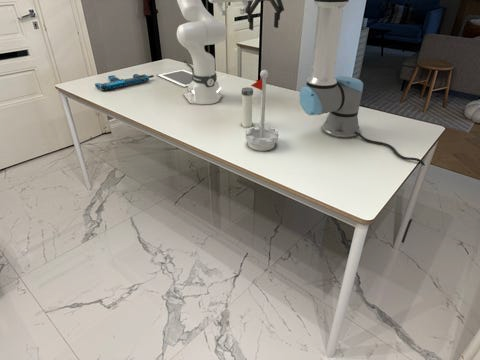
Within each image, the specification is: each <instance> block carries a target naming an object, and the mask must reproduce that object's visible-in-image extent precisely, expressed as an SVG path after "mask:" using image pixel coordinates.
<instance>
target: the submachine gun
mask: <svg viewBox="0 0 480 360" xmlns="http://www.w3.org/2000/svg"><path fill="white" fill-rule="evenodd" d="M107 77H108V80H109V82H103V83H100V82H96V83H94V86H95V88H97V89H98V90H100V91H107V90H113V91H114V90H115V89H116V88H120V87H125V86H129V85H134V84H138V83H139V84H140V83H145V82H146V83H147V81H148V80H150V79H151V78H154V77H155V76H154V74H151V75H147V74H138V73H134V74H133V75H132V77H129V78H121V79H120V78H118V77H117V76H116V75H113V74H112V75H108V76H107Z"/></svg>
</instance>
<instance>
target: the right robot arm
mask: <svg viewBox="0 0 480 360" xmlns="http://www.w3.org/2000/svg"><path fill="white" fill-rule="evenodd" d="M265 1H267V2H268V1H269V2H270V4H271V6H272V7H273V9H274V10H275V11H276V12H274V15H273V16H274V18H273V28H275V29H278V28H279V21H280V20H281V14H282V12H284V11H285V8H284V3H283V1H282V0H253V1H248V5H247V7H246V9H245V14H247V22H248V29H249V30H250V31H254V14H253V13H254V12H255V10H256V9H257V7H258V6H259V4H260V3H261V2H265ZM313 2H314V3H315V5H316V7H317V13H316V23H315V24H316V25H315V32H314V42H313V43H314V45H313V52H312V53H313V54H312V64H311V73H310V74H311V75H310V76H309V77H307V78H306V84H305V86H303V87H302V88H301V89H300V90H299V94H298V99H299V104H300V106H301V108H302V110H303V112H304V113H305V114H307V115H308V116H321V115H324V114H328V115H327V117H326V118H325V117H323V121H324V123H323V126H322V130H323V132H324V133H325V134H326V135H329V136H332V137H335V138H339V139H341V138H342V139H349V138H354V137H356V136H358V137H360V138H361V139H362V140H363V141H365V142H367V143H372V144H376V145H381V146H385V147H388V148H390V149H391V150H392V151H393V153H394V154H395V155H396V157H398V158H401V159H403V160H407V161H416V162H418V163H419V164H420V165H421V166H426V164H425V163H424V161H423V160H422V159H420V158H417V157H410V156H409V157H408V156H404V155H402V154H401V153H400V152H398V151H397V149H396V148H395V147H394V146H393V145H391V144H390V143H387V142H382V141H377V140H372V139H369V138H366V137H364V136H363V135H362V134H361V133H359V132H360V125H359V118H358V117H359V116H358V114H359V111H360V110H359V109H360V105H361V101H362V96H363V92H364V91H363V89H364V82H363V81H362V80H361V79H359V78H356V77H353V76H346V75H336V76H335V70H336V63H337V57H338V56H337V55H338V48H339V41H340V34H341V28H342V19H343V12H344V7H345V6H346V5H347V4H348V3H349V2H350V0H313ZM412 222H413V218H411V219H409V220H408V222H407V225H406V228H405V230H404V233H403V236H402V239H401V243H402V244H404V243H405V241H406V237H407V235H408V232H409V229H410V226H411V224H412Z"/></svg>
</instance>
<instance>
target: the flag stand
mask: <svg viewBox="0 0 480 360" xmlns="http://www.w3.org/2000/svg"><path fill="white" fill-rule="evenodd" d="M259 75H260V79H259V80H257V81H256V82H253V84H251V85H250V86H251V87H252V88H256V89H258V90H260V91H261V95H260V97H261V98H260V99H261V100H260V125H258V128H255V127H254V126H250V127H248V130H246V131H245V140H246V141H247V145H248V147H249V148H250V149H252V150H254V151H259V152H260V151H261V152H263V151H264V152H265V151H270V150H272V149H274V148H275V147H276V143H277V142H278V140H279V131H278V130H276V128H274V127H272V126H270V127H268V128H266V127H265V121H266V119H265V118H266V95H267V94H266V93H267V92H266V91H267V78H268V77H269V71H268V70H266V69H262V70H261V71H260V74H259Z"/></svg>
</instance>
